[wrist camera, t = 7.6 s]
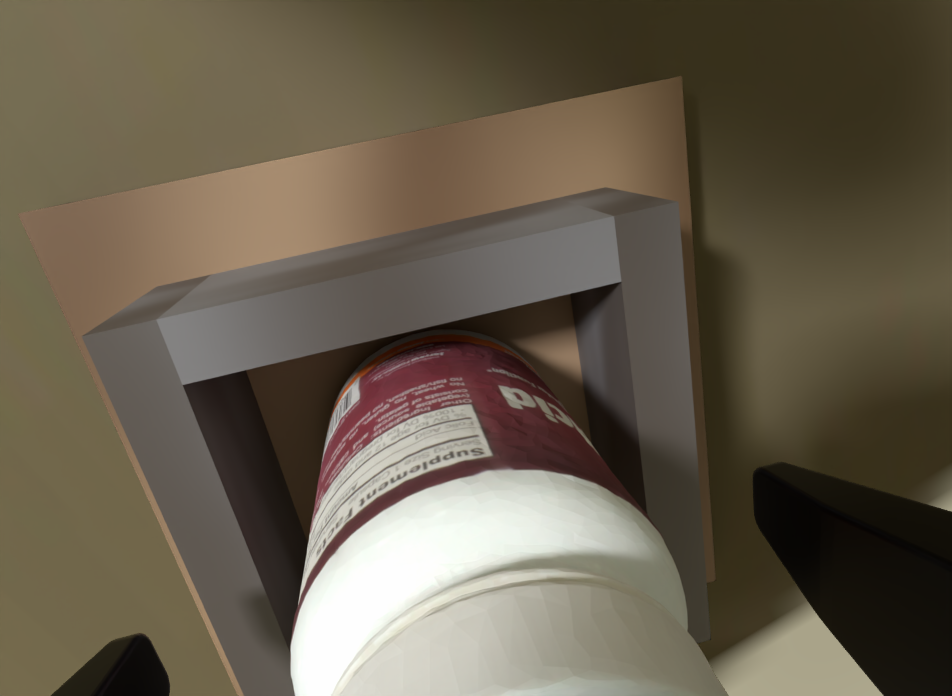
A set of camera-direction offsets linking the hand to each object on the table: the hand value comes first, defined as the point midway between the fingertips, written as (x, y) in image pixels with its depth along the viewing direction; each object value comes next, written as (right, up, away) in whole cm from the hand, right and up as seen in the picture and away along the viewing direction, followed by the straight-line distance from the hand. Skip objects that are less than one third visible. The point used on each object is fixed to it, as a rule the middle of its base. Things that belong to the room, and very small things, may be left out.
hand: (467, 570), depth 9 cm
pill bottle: (-1, +2, +4) cm, 5 cm away
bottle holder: (-1, +2, +5) cm, 5 cm away
